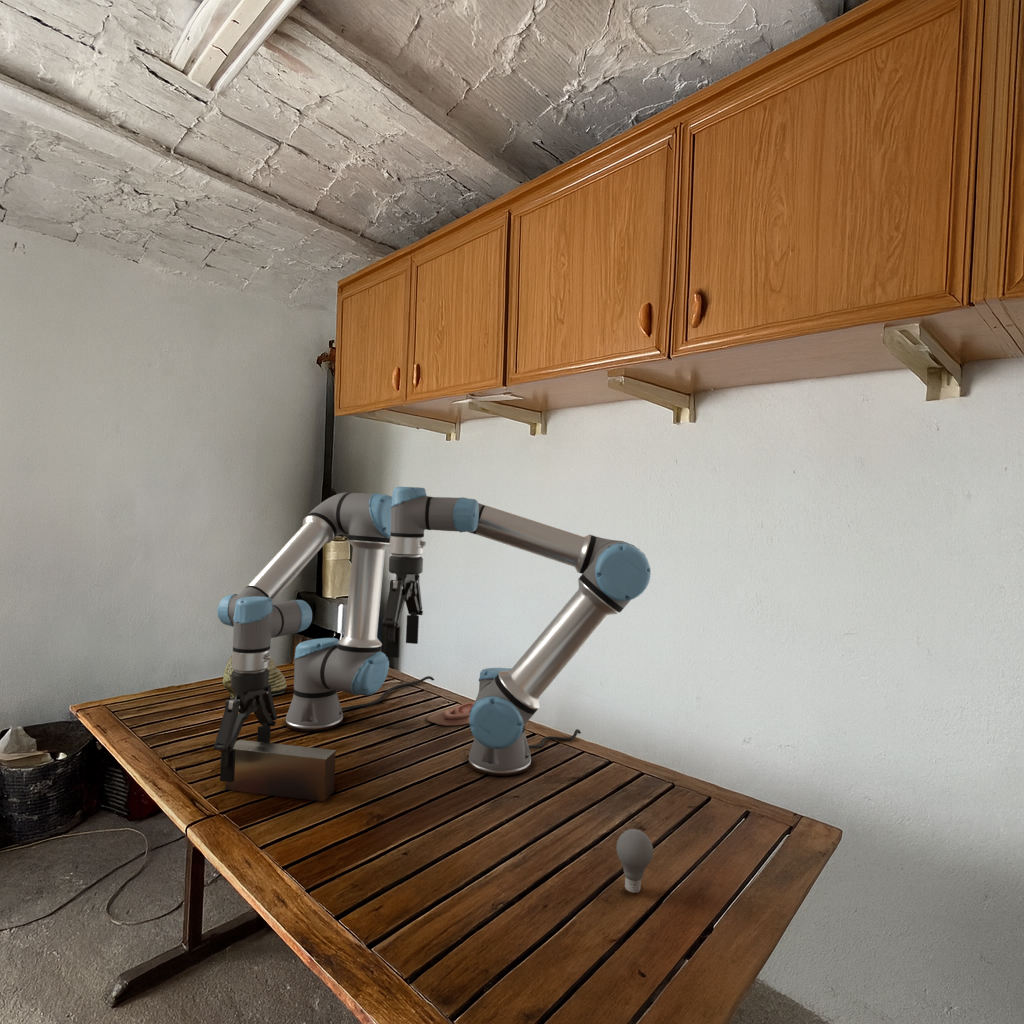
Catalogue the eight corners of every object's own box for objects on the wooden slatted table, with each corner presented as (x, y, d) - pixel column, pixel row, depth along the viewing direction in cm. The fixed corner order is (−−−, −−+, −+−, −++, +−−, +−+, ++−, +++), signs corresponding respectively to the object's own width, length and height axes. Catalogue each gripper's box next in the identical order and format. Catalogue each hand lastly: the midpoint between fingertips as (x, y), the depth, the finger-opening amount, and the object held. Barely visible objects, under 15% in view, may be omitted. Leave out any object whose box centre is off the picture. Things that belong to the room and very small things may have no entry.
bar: (224, 789, 135) (226, 748, 135) (238, 779, 140) (239, 739, 140) (324, 801, 132) (325, 759, 132) (334, 791, 136) (335, 750, 136)
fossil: (218, 695, 195) (220, 647, 195) (278, 685, 208) (279, 640, 207) (228, 703, 189) (230, 653, 188) (289, 692, 201) (290, 645, 201)
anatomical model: (423, 709, 179) (436, 697, 190) (423, 723, 179) (436, 710, 190) (469, 714, 176) (479, 702, 188) (468, 728, 177) (478, 715, 188)
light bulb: (610, 879, 108) (613, 822, 108) (644, 879, 109) (647, 822, 109) (619, 902, 102) (622, 840, 102) (655, 901, 103) (658, 840, 103)
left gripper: (232, 686, 124) (227, 795, 124) (295, 657, 148) (290, 748, 148) (197, 683, 125) (192, 790, 125) (265, 655, 149) (261, 744, 149)
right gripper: (404, 561, 129) (400, 664, 129) (437, 552, 154) (433, 639, 154) (369, 559, 130) (365, 661, 131) (407, 550, 155) (404, 636, 155)
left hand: (245, 767), depth 137 cm, fingers open, 13 cm apart
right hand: (402, 649), depth 142 cm, fingers open, 13 cm apart
